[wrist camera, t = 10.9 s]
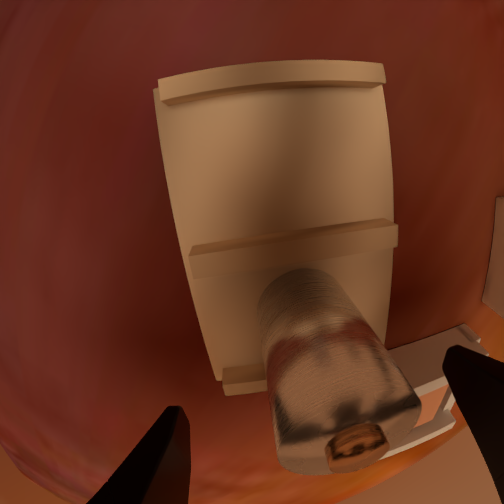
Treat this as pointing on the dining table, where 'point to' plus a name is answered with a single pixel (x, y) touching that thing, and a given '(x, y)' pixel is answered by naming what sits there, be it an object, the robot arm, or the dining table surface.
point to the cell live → (329, 378)
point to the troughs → (277, 193)
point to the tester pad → (430, 404)
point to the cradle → (431, 378)
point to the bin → (496, 264)
